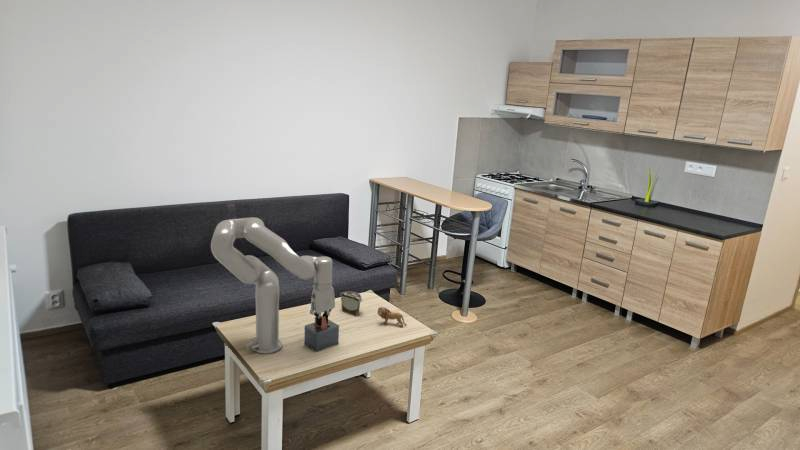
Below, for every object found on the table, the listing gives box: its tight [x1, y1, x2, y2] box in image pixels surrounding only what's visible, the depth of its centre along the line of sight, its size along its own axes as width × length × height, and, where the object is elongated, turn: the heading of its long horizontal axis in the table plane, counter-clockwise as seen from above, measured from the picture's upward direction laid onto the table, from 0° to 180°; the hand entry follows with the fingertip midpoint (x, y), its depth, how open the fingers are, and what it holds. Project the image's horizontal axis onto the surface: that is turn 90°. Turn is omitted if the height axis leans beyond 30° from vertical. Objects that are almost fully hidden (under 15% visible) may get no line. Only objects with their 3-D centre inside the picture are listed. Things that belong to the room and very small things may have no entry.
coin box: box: [303, 319, 340, 353], centre depth 233 cm, size 12×9×9 cm
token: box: [314, 315, 328, 329], centre depth 232 cm, size 3×4×6 cm, turn 45°
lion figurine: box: [377, 306, 408, 329], centre depth 257 cm, size 15×5×9 cm, turn 88°
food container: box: [339, 291, 363, 318], centre depth 268 cm, size 12×6×10 cm, turn 58°
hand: (322, 323), depth 232 cm, fingers closed on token, 2 cm apart
